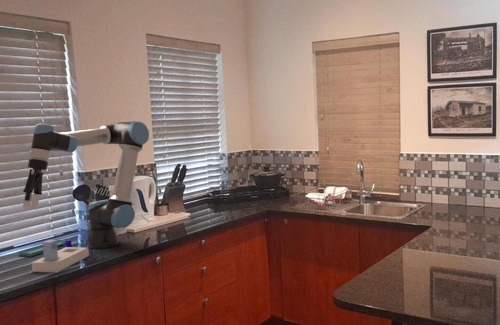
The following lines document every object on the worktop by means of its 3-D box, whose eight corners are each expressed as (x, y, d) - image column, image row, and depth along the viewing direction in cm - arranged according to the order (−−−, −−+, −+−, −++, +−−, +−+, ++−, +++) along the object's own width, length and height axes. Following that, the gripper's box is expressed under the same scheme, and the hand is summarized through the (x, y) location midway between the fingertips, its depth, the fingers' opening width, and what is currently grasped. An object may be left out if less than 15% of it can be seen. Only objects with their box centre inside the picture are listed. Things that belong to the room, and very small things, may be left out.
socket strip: (66, 257, 231) (65, 247, 231) (89, 258, 228) (88, 247, 228) (32, 273, 208) (31, 262, 207) (57, 274, 205) (56, 263, 204)
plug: (51, 266, 214) (48, 240, 212) (60, 267, 212) (58, 240, 211) (45, 269, 210) (42, 242, 209) (54, 269, 208) (52, 242, 207)
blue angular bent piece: (50, 259, 231) (49, 246, 230) (46, 257, 233) (44, 245, 233) (73, 252, 240) (72, 240, 239) (69, 251, 243) (67, 239, 242)
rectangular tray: (59, 243, 262) (58, 238, 262) (71, 244, 258) (71, 239, 258) (17, 256, 239) (17, 251, 239) (30, 258, 235) (30, 253, 235)
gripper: (36, 161, 221) (28, 208, 218) (22, 155, 196) (12, 207, 194) (53, 163, 222) (45, 210, 219) (41, 157, 198) (32, 209, 195)
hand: (30, 209), depth 207 cm, fingers open, 13 cm apart
